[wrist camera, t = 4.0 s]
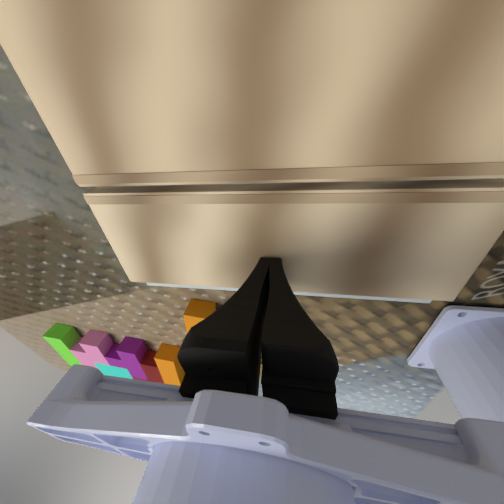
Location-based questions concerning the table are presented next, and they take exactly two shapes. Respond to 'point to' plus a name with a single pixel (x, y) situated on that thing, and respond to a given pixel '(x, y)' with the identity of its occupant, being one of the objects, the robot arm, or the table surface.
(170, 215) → the loose board
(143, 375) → the toy blocks
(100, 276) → the table surface
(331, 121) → the laid board
